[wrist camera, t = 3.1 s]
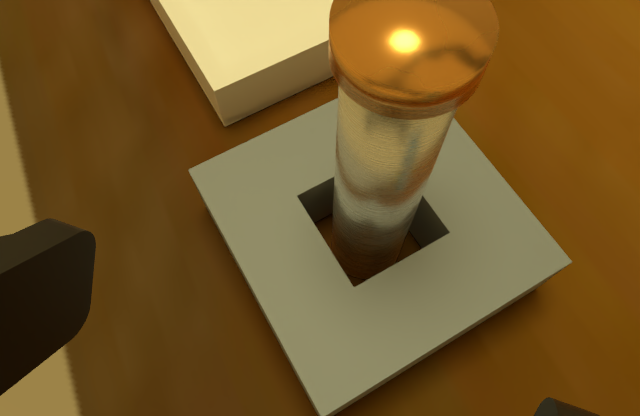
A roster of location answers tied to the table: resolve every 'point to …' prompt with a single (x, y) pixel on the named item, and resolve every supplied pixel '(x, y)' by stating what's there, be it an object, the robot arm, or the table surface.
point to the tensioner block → (389, 285)
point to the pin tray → (250, 49)
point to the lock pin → (396, 112)
